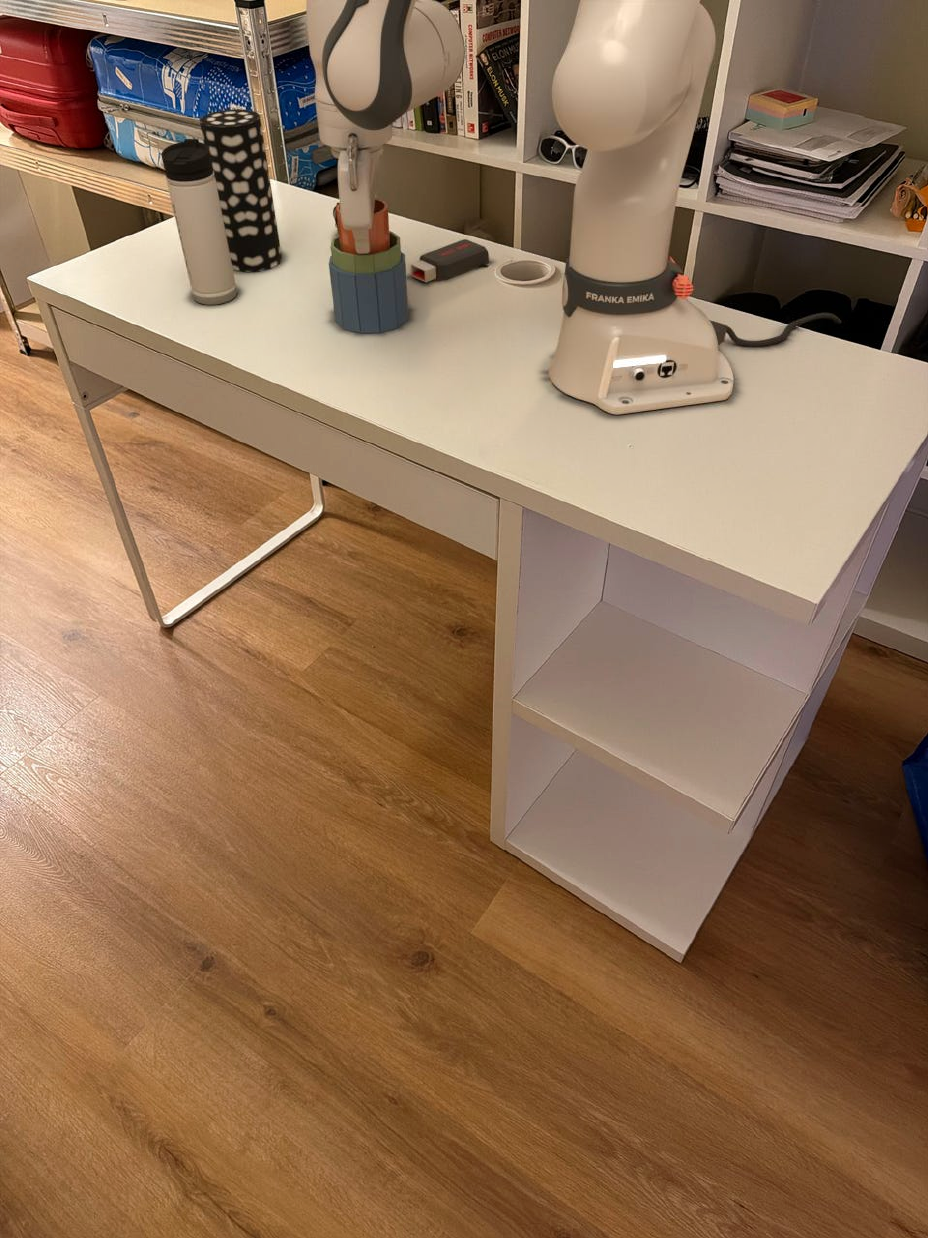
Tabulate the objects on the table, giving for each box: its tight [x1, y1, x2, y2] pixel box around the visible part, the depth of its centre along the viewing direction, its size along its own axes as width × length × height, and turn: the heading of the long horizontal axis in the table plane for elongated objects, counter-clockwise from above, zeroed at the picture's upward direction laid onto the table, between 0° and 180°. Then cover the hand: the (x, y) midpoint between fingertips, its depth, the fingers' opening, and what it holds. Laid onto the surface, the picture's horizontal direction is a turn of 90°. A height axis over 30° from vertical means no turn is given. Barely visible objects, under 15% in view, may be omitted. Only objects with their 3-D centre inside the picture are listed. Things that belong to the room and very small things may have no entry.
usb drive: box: [410, 238, 490, 283], centre depth 136 cm, size 5×12×3 cm, turn 133°
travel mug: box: [160, 138, 238, 306], centre depth 124 cm, size 6×7×20 cm
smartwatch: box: [332, 202, 340, 235], centre depth 145 cm, size 4×5×5 cm
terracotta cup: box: [336, 197, 391, 255], centre depth 119 cm, size 6×6×10 cm
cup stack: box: [328, 230, 409, 334], centre depth 122 cm, size 10×10×10 cm
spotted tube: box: [199, 108, 283, 273], centre depth 133 cm, size 8×8×20 cm
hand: (364, 238), depth 118 cm, fingers closed on terracotta cup, 6 cm apart
